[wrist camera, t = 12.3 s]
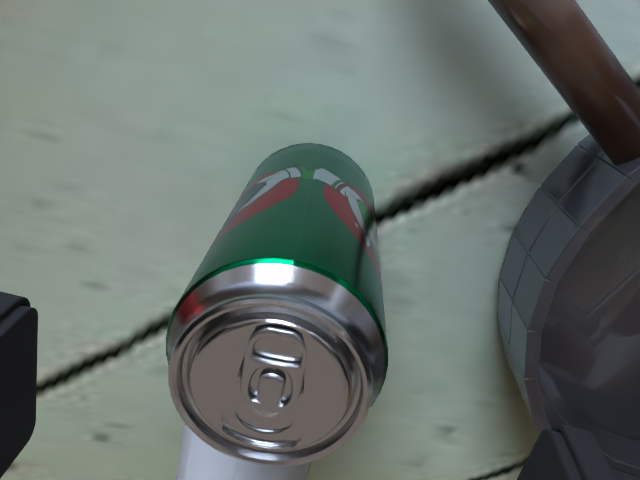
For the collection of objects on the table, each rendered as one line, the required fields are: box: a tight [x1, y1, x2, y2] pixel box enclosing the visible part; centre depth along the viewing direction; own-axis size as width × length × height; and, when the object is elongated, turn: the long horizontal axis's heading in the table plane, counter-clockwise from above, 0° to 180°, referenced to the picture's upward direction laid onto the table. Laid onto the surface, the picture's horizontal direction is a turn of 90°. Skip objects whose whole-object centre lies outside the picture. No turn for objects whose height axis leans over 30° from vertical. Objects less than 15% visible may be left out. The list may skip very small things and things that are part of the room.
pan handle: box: [488, 0, 640, 163], centre depth 17 cm, size 2×12×2 cm, turn 43°
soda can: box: [166, 143, 388, 466], centre depth 17 cm, size 5×5×12 cm
